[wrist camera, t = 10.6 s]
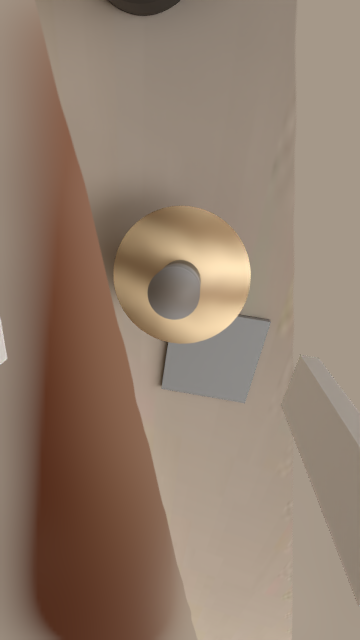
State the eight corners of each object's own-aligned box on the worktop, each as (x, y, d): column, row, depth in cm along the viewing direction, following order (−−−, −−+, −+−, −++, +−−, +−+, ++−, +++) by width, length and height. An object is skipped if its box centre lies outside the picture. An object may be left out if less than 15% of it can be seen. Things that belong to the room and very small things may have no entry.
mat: (174, 303, 43) (173, 305, 42) (269, 319, 43) (270, 322, 42) (162, 385, 50) (161, 388, 49) (244, 399, 50) (244, 403, 49)
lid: (121, 196, 27) (89, 181, 19) (264, 219, 26) (289, 213, 19) (111, 328, 32) (83, 358, 24) (232, 350, 31) (241, 387, 24)
